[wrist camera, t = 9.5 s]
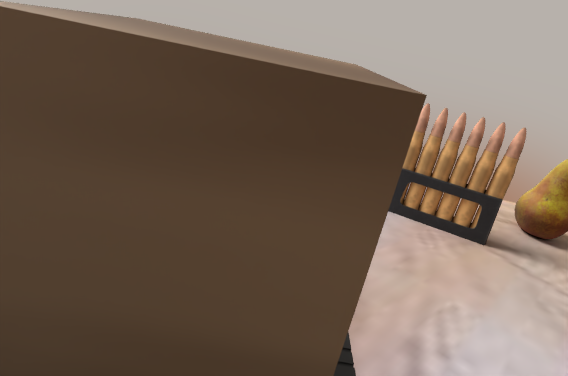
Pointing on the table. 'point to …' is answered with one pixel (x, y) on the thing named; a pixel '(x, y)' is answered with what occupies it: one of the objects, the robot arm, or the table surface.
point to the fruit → (546, 205)
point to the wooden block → (184, 198)
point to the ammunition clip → (455, 178)
